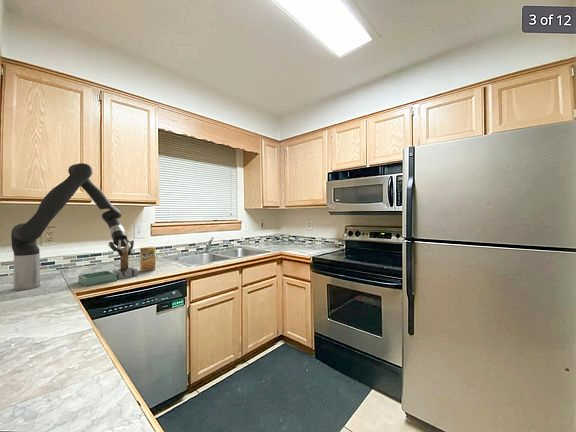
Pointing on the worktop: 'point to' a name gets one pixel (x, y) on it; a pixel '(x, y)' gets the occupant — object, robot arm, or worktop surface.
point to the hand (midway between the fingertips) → (125, 254)
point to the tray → (97, 278)
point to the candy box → (147, 259)
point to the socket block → (125, 273)
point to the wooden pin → (124, 259)
